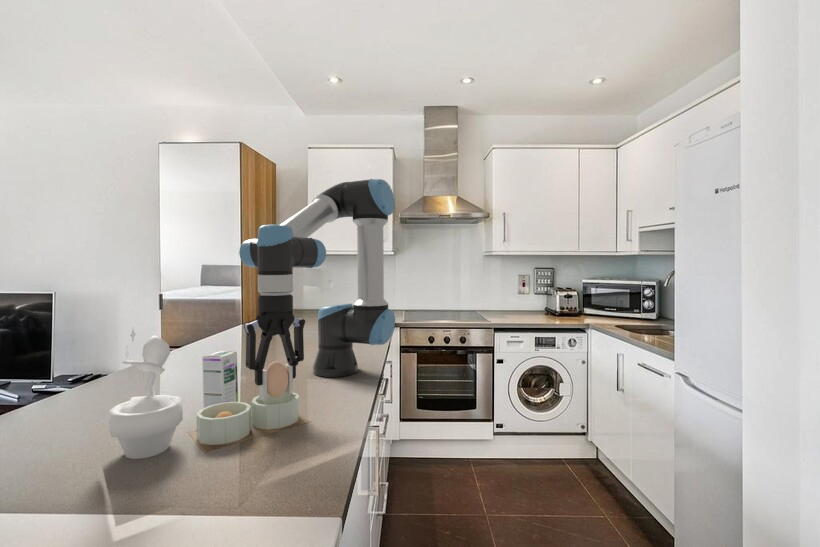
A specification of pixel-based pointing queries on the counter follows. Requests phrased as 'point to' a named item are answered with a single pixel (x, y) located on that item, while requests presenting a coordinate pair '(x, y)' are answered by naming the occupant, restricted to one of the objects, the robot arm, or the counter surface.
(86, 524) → the counter surface
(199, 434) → the cup
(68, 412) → the counter surface
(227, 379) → the syrup box
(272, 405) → the cup
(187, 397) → the counter surface
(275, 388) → the egg
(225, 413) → the rubber ball
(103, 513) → the counter surface
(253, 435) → the rack board
